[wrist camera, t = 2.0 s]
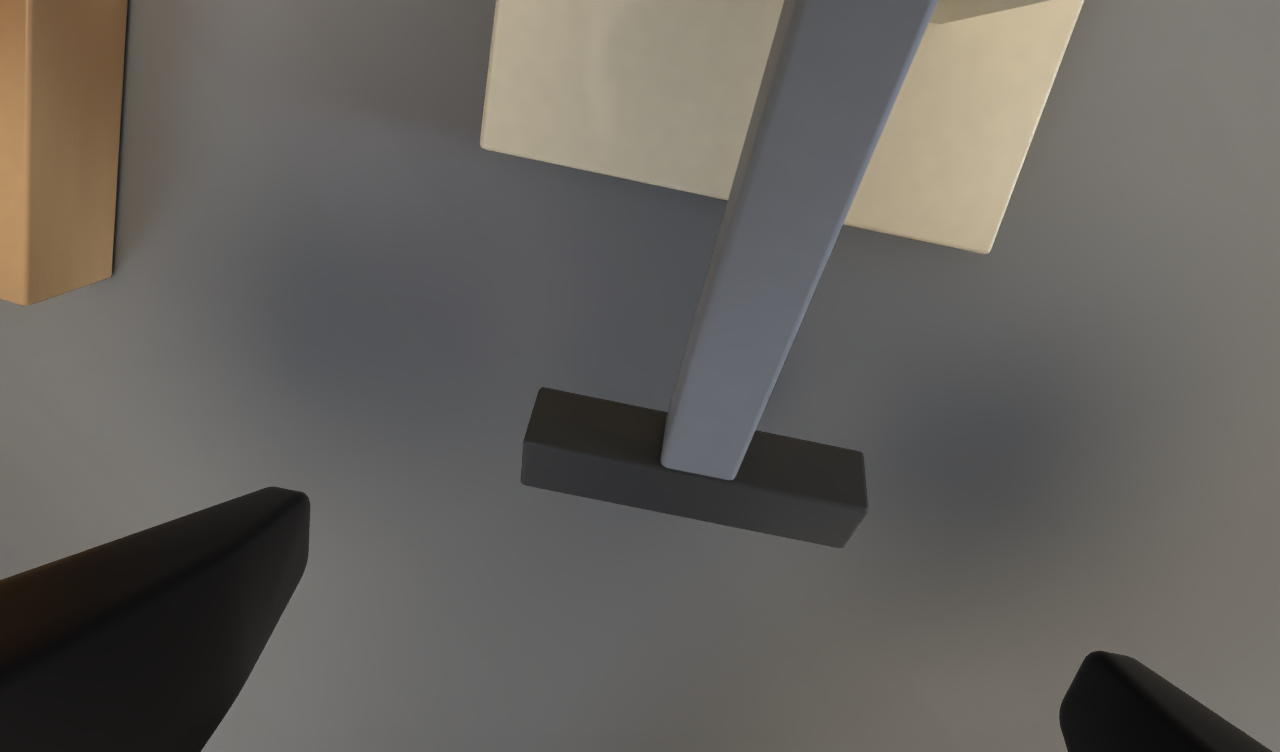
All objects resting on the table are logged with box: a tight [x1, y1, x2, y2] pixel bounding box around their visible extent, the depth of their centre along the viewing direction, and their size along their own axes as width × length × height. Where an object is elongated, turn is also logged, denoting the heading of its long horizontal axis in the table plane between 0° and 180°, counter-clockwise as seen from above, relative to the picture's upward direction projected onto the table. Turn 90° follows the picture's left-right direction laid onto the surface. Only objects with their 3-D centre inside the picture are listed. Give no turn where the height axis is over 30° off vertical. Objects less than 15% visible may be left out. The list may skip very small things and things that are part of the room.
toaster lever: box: [521, 0, 938, 548], centre depth 8 cm, size 12×5×2 cm, turn 169°
